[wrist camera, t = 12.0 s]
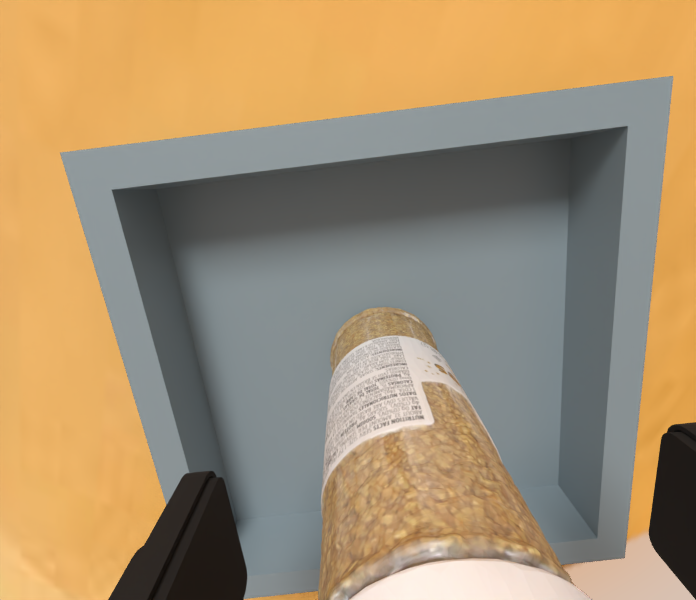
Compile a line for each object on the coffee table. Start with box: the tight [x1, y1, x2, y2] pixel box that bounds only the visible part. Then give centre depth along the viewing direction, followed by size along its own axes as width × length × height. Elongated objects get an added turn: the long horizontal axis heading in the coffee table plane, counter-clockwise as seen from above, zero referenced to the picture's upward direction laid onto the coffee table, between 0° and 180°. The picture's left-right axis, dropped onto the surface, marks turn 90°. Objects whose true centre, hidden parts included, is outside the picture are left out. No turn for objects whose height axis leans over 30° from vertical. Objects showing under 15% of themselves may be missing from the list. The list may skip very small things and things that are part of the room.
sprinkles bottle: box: [318, 307, 592, 600], centre depth 10 cm, size 5×5×13 cm
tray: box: [60, 76, 673, 599], centre depth 16 cm, size 18×18×4 cm
